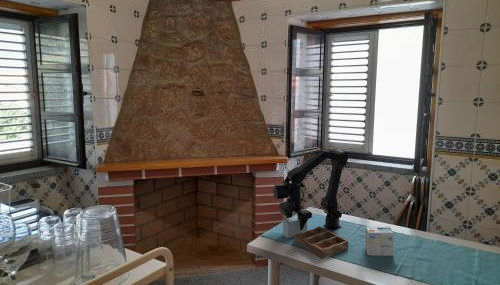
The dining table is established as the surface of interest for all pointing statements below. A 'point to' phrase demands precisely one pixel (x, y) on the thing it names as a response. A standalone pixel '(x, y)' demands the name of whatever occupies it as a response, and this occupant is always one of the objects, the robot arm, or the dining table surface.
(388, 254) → the light bulb box
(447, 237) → the dining table surface
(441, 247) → the dining table surface
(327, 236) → the rack
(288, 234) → the white rectangular box
